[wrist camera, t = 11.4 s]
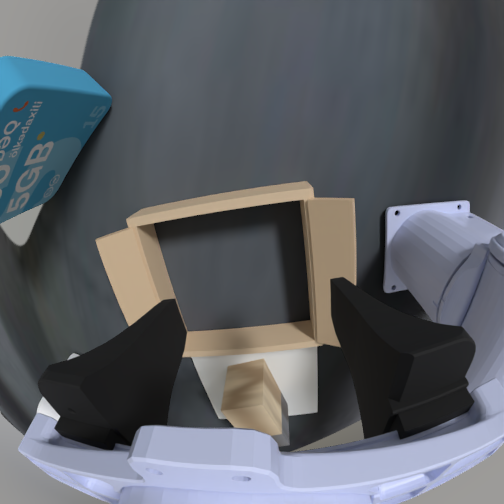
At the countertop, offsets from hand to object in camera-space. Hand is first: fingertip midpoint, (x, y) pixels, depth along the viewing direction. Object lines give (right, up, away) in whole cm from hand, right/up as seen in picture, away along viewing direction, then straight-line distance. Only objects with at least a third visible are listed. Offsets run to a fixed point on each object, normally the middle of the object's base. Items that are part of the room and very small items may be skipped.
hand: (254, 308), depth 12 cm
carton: (-2, +1, +11) cm, 11 cm away
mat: (+1, -13, +17) cm, 21 cm away
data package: (-17, +13, +7) cm, 22 cm away
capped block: (+1, -13, +16) cm, 21 cm away
